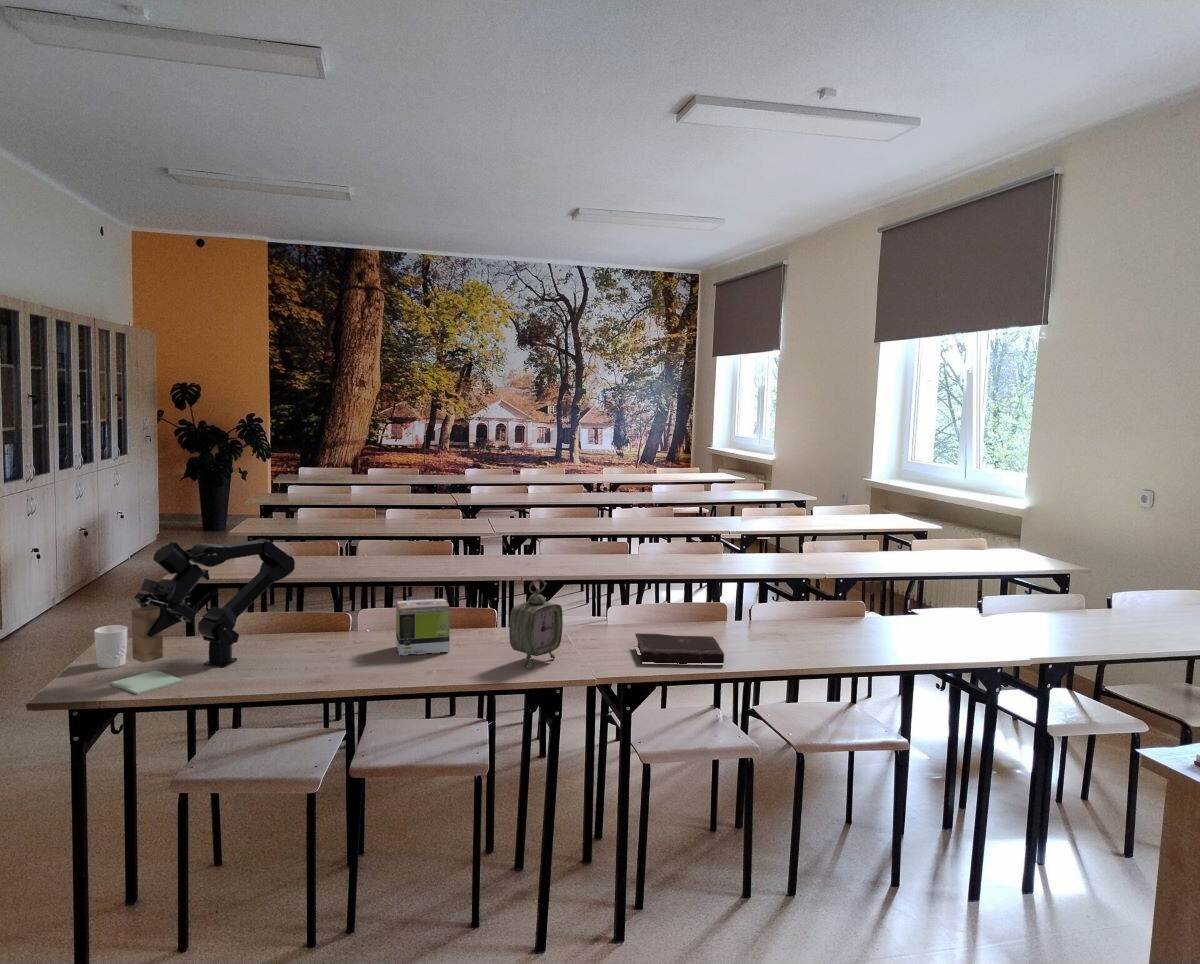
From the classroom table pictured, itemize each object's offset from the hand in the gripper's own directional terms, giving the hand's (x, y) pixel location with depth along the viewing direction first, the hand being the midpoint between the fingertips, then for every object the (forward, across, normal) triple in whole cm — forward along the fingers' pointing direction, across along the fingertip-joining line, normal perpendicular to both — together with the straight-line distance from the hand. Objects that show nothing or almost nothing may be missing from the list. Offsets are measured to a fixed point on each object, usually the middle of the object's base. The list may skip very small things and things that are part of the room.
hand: (142, 634), depth 216 cm
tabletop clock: (-44, +69, +64) cm, 104 cm away
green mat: (+9, 0, +10) cm, 14 cm away
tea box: (-36, +36, +56) cm, 76 cm away
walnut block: (+4, 0, +6) cm, 7 cm away
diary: (-66, +101, +87) cm, 149 cm away
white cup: (+7, -21, +13) cm, 26 cm away
